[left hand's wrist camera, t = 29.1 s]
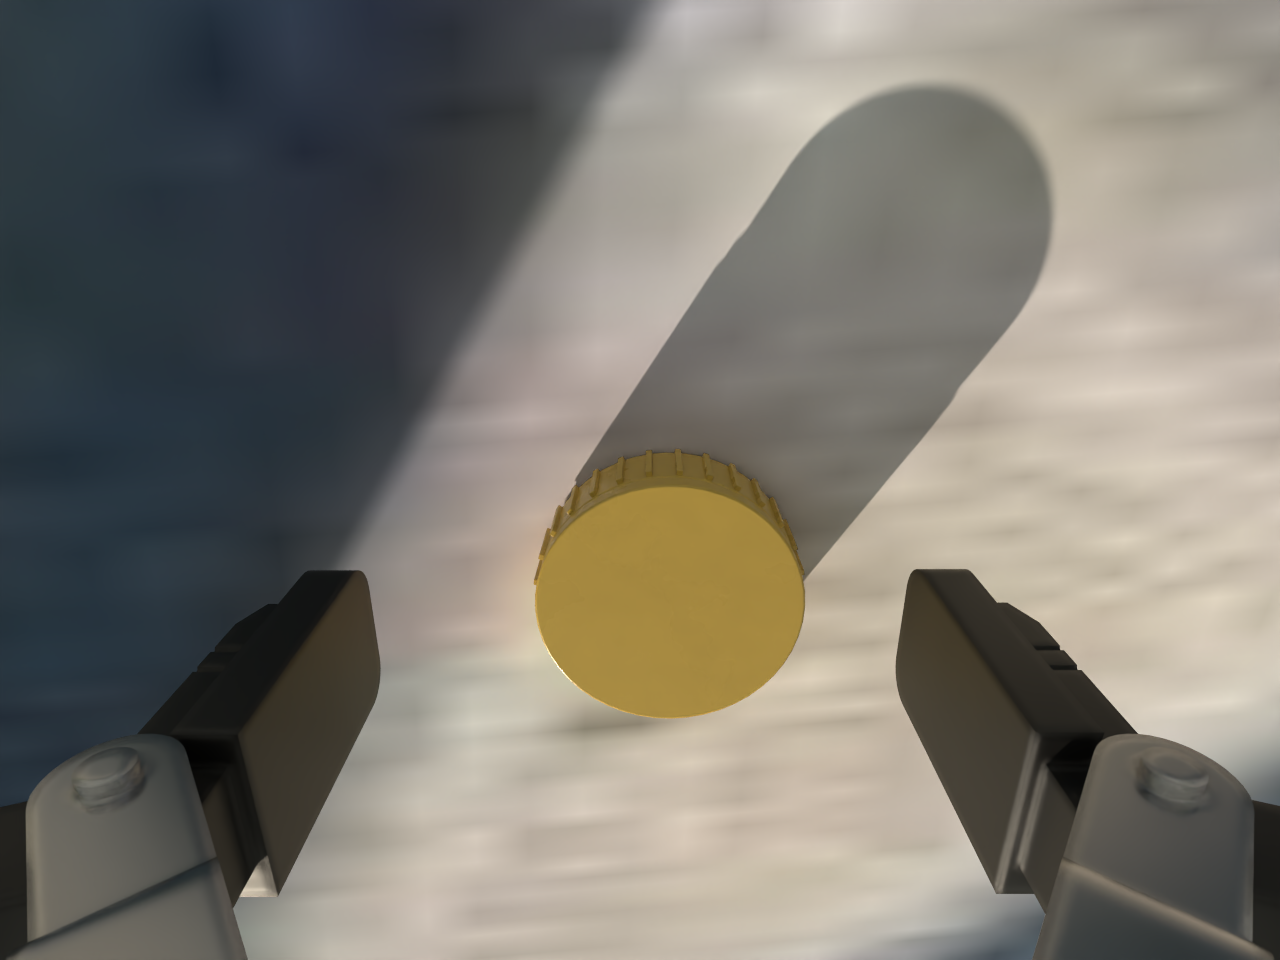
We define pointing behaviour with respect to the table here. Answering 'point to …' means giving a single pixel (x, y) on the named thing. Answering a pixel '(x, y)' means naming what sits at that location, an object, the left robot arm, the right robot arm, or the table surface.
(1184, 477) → the table surface
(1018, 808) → the left robot arm
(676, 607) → the lid
